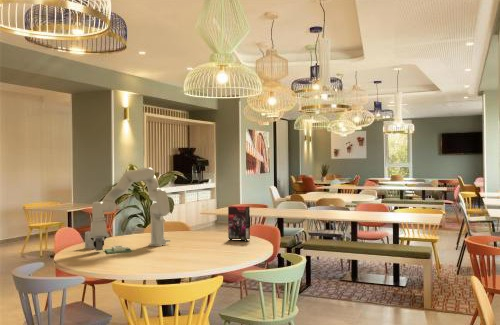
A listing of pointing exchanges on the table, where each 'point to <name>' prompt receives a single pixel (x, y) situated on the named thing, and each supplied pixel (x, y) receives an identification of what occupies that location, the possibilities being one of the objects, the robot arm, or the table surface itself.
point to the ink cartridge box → (89, 241)
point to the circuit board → (118, 249)
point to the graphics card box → (239, 222)
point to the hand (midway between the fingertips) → (98, 246)
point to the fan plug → (99, 244)
